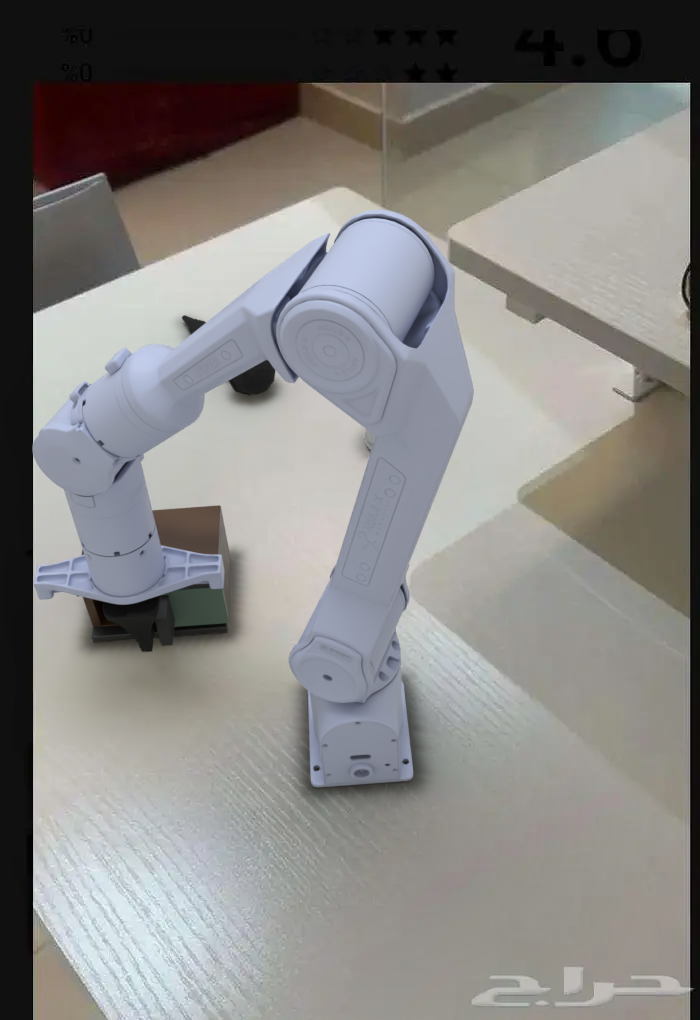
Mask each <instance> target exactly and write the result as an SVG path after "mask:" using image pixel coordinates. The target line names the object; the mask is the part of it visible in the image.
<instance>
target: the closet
mask: <svg viewBox="0 0 700 1020" xmlns="http://www.w3.org/2000/svg"><path fill="white" fill-rule="evenodd" d="M152 511H153V515H154V519H155V523H156V527H157V532H158V536H159V540H160V544H161V545H162V546H166V547H171V548H176V549H181V550H186V551H190V552H195V553H201V554H209V555H217V554H221V555H222V560H223V566H224V588H223V590H224V595H225V600H226V605H227V610H228V611H229V607H230V585H231V584H230V581H231V558H232V557H231V554H230V547H229V542H228V536H227V531H226V526H225V521H224V515H223V510H222V506H221V505H219V504H218V505H206V506H205V505H204V506H192V507H190V506H189V507H179V508H177V507H176V508H163V509H152ZM81 549H82V550H81V555H84V552H83V548H81ZM81 555H80V556H81ZM200 587H210V586H209V583H206V584H193V585H190V586H187V587H184V588H181V589H187V588H200ZM82 599H83V602H84V605H85V608H86V611H87V614H88V616H89V620H90V623H91V625H92V630H91V636H90V638H91V640H92V643H107V642H120V641H133V640H135V638H134V637H133V636H132V635H131V634H130V633H129V632H128V631H127V630H125V629H124V628H123V627H121V626H120V625H118V624H116V623H114V622H112V621H109V620H107V618H106V617H105V615H104V612H103V604H104V601H99V600H95V599H91V598H86V597H82ZM153 628H154V639H158V638H159V635H158V631H157V628H156V624H155V620H154V622H153ZM228 632H229V623H222V624H208V625H194V626H181V627H174V637H189V636H199V635H200V636H201V635H214V634H215V635H216V634H227V633H228ZM159 639H160V638H159ZM135 641H136V640H135Z"/></svg>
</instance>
